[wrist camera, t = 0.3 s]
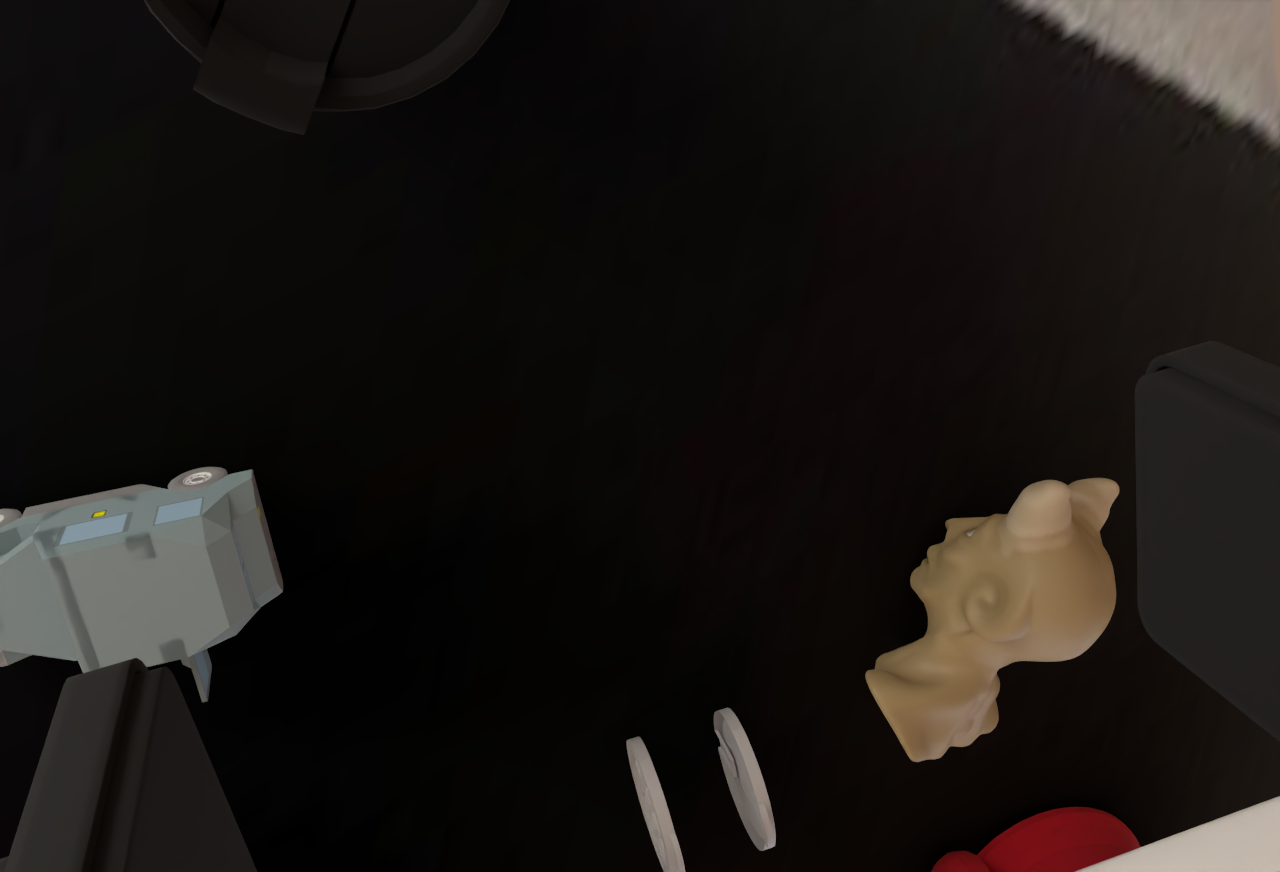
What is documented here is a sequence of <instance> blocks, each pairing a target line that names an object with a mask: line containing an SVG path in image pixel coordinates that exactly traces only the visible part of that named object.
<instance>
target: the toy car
mask: <svg viewBox="0 0 1280 872" xmlns="http://www.w3.org/2000/svg"><path fill="white" fill-rule="evenodd" d="M282 592H283V580H282V576H281V573H280V569H279V565H278V562H277V558H276V554H275V551H274V549H273V543H272V540H271V536H270V532H269V529H268V525H267V521H266V518H265V514H264V510H263V507H262V503H261V499H260V496H259V492H258V488H257V485H256V481H255V477H254V474H253V470H247V471H242V472H237V473H232V474H229V475H228V473H227V471H226V469H223V468H220V467H203V468H198V469H194V470H190V471H187V472H185V473H183V474H181V475H179V476H177V477H176V478H174V479H173V480H172V481H171V482H170V483H169V485H168V489H164V488H159V487H154V486H149V485H144V484H139V485H134V486H129V487H124V488H119V489H114V490H110V491H105V492H100V493H95V494H90V495H85V496H80V497H76V498H71V499H66V500H61V501H56V502H51V503H46V504H42V505H37V506H32V507H27V508H25V511H24V513H23V515H22V514H21V512H20V511H18V510H16V509H0V667H2V666H7V665H9V664H12V663H14V662H16V661H19V660H21V659H23V658H26V657H28V656H30V655H39V656H46V657H53V658H59V659H66V660H73V661H76V660H78V662H79V664H80V667H81V669H82V671H83V673H86V672H89V671H93V670H96V669H100V668H103V667H106V666H110V665H113V664H116V663H120V662H123V661H127V660H130V659H133V658H138V659H140V660H141V661H142V662H143V663H144V664H145V666H146V667H149V666H154V665H158V664H162V663H166V662H171V661H175V660H179V659H181V661H182V664H183V665H185V666H187V667H189V668H192V672H193V675H194V678H195V681H196V684H197V687H198V690H199V694H200V697H201V700H202V702H206V701H208V695H209V686H210V678H211V669H212V664H211V661H210V658H209V655H208V651H207V648H209V647H211V646H213V645H216V644H218V643H220V642H222V641H224V640H226V639H228V638H230V637H233V636H235V635H237V634H238V632H239V631H240V630H241V629H242V628H243V627H244V626H245V624H246V623H247V622H248V621H249V620H250V619H251V618H252V617H253V615H254V614H255V613H256V612H257V611H258V610H259V609H260V607H262V606H263V605H265V604H266V603H268V602H269V601H270V600H272V599H273V598H275V597H276V596H278V595H279V594H281V593H282Z"/></svg>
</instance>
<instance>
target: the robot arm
mask: <svg viewBox="0 0 1280 872" xmlns="http://www.w3.org/2000/svg"><path fill="white" fill-rule="evenodd" d="M1135 438H1136V505H1137V573H1138V609H1139V614H1140V617H1141V621H1142V623H1143V625H1144V627H1145V629H1146V631H1147V632H1148V634H1149V635H1150V637H1151V638H1152V639H1153V640H1154V641H1155V642H1156V643H1157V644H1158V645H1159V646H1161V647H1162V648H1163V649H1164V650H1166V651H1167V652H1168V653H1169V654H1171V655H1172V656H1173V657H1174V658H1176V659H1177V660H1178V661H1179V662H1181V663H1182V664H1183V665H1184V666H1186V667H1187V668H1188V669H1189V670H1191V671H1192V672H1193V673H1194V674H1196V675H1197V676H1198V677H1199V678H1201V679H1202V680H1203V681H1204V682H1206V683H1207V684H1208V685H1209V686H1211V687H1212V688H1213V689H1214V690H1216V691H1217V692H1218V693H1219V694H1221V695H1222V696H1223V697H1224V698H1226V699H1227V700H1228V701H1229V702H1231V703H1232V704H1233V705H1234V706H1236V707H1237V708H1238V709H1239V710H1241V711H1242V712H1243V713H1244V714H1246V715H1247V716H1248V717H1249V718H1251V719H1252V720H1253V721H1254V722H1256V723H1257V724H1258V725H1259V726H1261V727H1262V728H1263V729H1264V730H1266V731H1267V732H1268V733H1269V734H1271V735H1272V736H1273V737H1274V738H1276V739H1277V740H1278V741H1279V742H1280V368H1279V367H1277V366H1274V365H1272V364H1270V363H1267V362H1265V361H1263V360H1260V359H1258V358H1255V357H1253V356H1251V355H1248V354H1246V353H1244V352H1241V351H1239V350H1236V349H1234V348H1232V347H1229V346H1227V345H1225V344H1222V343H1219V342H1214V341H1209V342H1205V343H1202V344H1198V345H1195V346H1192V347H1188V348H1185V349H1181V350H1178V351H1175V352H1171V353H1168V354H1164V355H1161V356H1158V357H1156V358H1154V359H1153V360H1152V361H1151V362H1150V364H1149V367H1148V369H1147V371H1146V375H1144V376H1142V377H1141V378H1140V379H1139V380H1138V383H1137V385H1136V389H1135ZM0 872H257V870H256V868H255V865H254V863H253V861H252V858H251V856H250V854H249V851H248V849H247V847H246V844H245V842H244V839H243V837H242V835H241V832H240V830H239V828H238V825H237V823H236V821H235V818H234V816H233V813H232V811H231V809H230V806H229V804H228V802H227V799H226V797H225V795H224V792H223V790H222V787H221V785H220V783H219V780H218V778H217V776H216V773H215V771H214V769H213V766H212V764H211V761H210V759H209V757H208V754H207V752H206V750H205V747H204V745H203V743H202V740H201V738H200V735H199V733H198V731H197V728H196V726H195V724H194V721H193V719H192V717H191V714H190V712H189V709H188V707H187V705H186V702H185V700H184V698H183V695H182V693H181V691H180V688H179V686H178V683H177V681H176V679H175V677H174V675H173V674H172V672H171V671H170V669H169V668H167V667H166V666H165V667H162V668H158V669H155V670H152V671H148V669H147V667H146V666H145V664H144V663H143V662H142V661H141V660H140V659H138V658H133V659H130V660H127V661H123V662H120V663H116V664H113V665H110V666H106V667H103V668H100V669H96V670H93V671H89V672H86V673H83V674H79V675H76V676H72V677H70V678H67V680H66V682H65V683H64V685H63V688H62V692H61V695H60V698H59V701H58V704H57V707H56V710H55V714H54V717H53V720H52V723H51V726H50V729H49V732H48V735H47V739H46V742H45V745H44V748H43V751H42V754H41V757H40V761H39V764H38V767H37V770H36V773H35V776H34V779H33V783H32V786H31V789H30V792H29V795H28V798H27V801H26V805H25V808H24V811H23V814H22V817H21V820H20V823H19V826H18V830H17V833H16V836H15V839H14V842H13V845H12V848H11V852H10V855H9V856H8V857H5V858H2V859H0ZM1075 872H1280V796H1279V797H1276V798H1273V799H1271V800H1268V801H1265V802H1262V803H1260V804H1257V805H1254V806H1251V807H1249V808H1246V809H1243V810H1241V811H1238V812H1235V813H1232V814H1230V815H1227V816H1224V817H1222V818H1219V819H1216V820H1213V821H1211V822H1208V823H1205V824H1203V825H1200V826H1197V827H1194V828H1192V829H1189V830H1186V831H1184V832H1181V833H1178V834H1176V835H1173V836H1170V837H1167V838H1165V839H1162V840H1159V841H1157V842H1154V843H1151V844H1148V845H1146V846H1143V847H1140V848H1138V849H1135V850H1132V851H1129V852H1127V853H1124V854H1121V855H1119V856H1116V857H1113V858H1110V859H1108V860H1105V861H1102V862H1100V863H1097V864H1094V865H1091V866H1089V867H1086V868H1083V869H1081V870H1078V871H1075Z"/></svg>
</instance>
